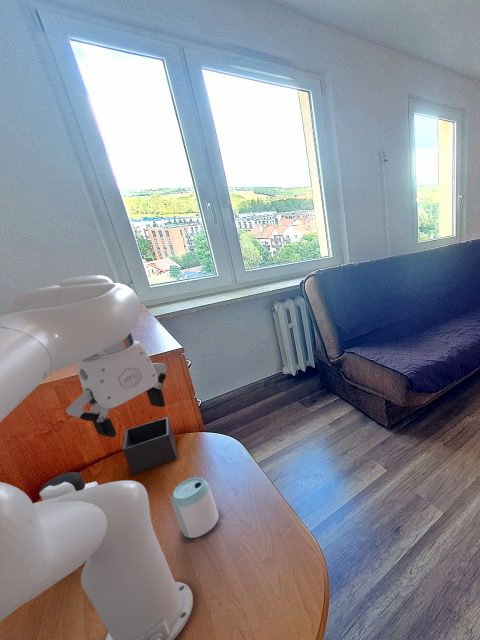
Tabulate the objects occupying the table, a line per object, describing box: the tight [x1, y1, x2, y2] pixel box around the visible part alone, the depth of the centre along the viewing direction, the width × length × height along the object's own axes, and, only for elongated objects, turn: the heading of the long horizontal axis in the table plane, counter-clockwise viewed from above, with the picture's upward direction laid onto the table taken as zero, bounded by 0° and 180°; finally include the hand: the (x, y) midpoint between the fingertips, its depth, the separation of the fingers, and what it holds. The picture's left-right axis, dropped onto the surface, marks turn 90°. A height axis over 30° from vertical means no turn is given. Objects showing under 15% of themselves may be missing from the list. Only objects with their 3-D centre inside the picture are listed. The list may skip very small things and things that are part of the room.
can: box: [171, 477, 219, 539], centre depth 76 cm, size 7×7×12 cm
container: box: [38, 471, 99, 501], centre depth 76 cm, size 8×8×13 cm
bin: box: [122, 416, 178, 475], centre depth 97 cm, size 10×10×9 cm
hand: (135, 419), depth 67 cm, fingers open, 9 cm apart
